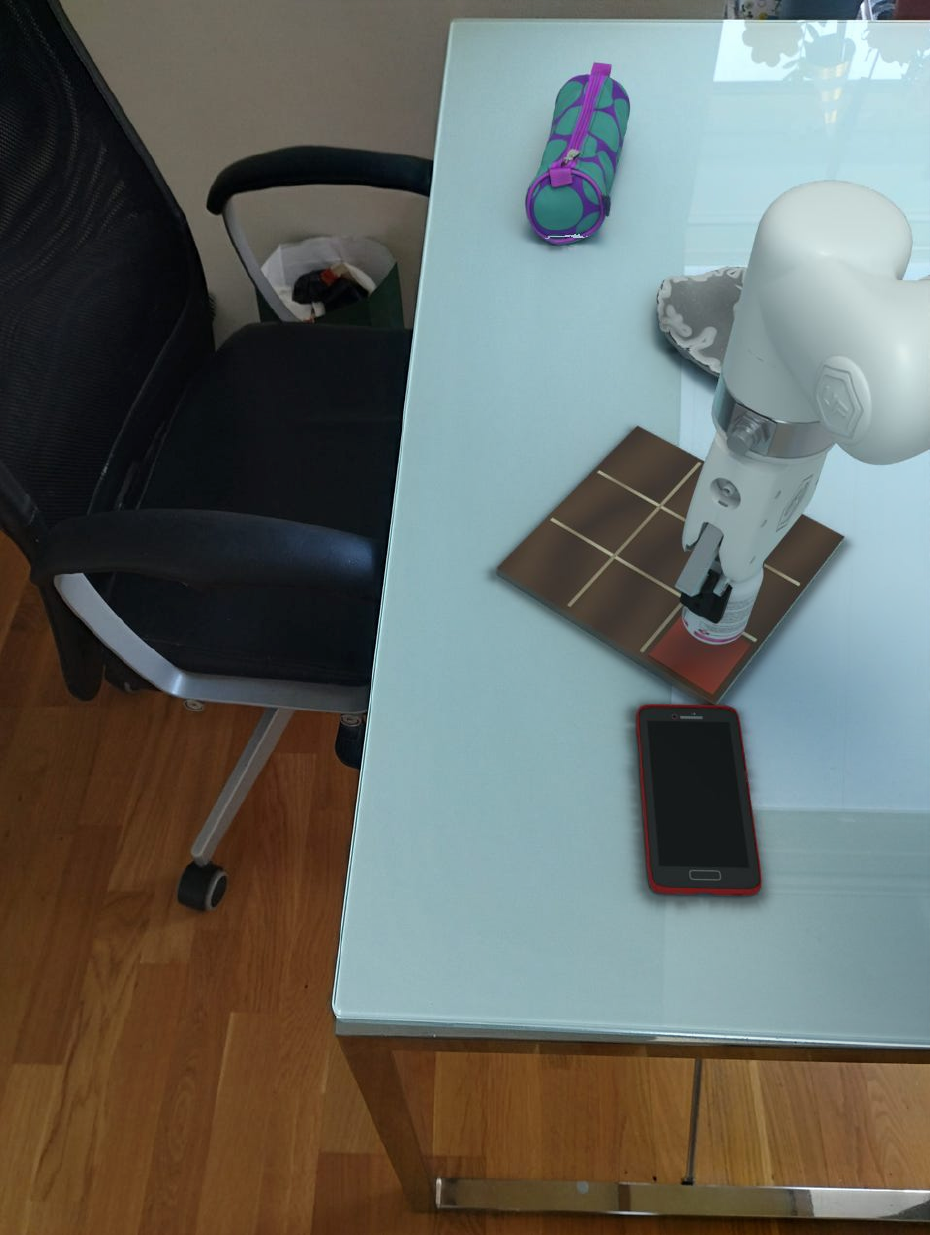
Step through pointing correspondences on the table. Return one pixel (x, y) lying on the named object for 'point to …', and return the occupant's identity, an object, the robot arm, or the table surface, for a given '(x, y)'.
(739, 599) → the pill bottle
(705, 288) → the brain slice
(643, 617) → the grid board
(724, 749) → the cell phone
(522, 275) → the table surface
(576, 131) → the pencil case
